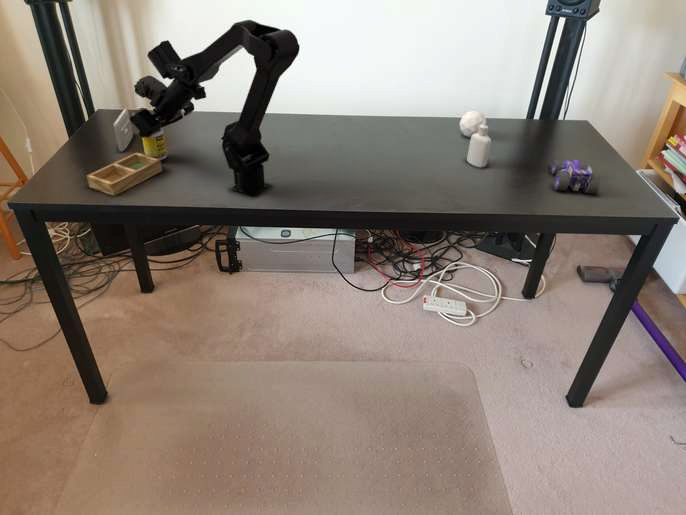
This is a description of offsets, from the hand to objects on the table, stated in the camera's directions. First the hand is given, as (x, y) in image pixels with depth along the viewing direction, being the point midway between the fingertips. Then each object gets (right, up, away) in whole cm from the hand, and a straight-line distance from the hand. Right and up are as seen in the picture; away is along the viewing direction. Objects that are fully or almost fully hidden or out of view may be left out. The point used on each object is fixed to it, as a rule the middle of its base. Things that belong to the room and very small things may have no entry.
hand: (147, 131), depth 134 cm
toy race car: (+108, -12, +3) cm, 109 cm away
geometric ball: (+88, +5, +25) cm, 92 cm away
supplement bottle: (+1, -6, +4) cm, 7 cm away
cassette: (-10, -1, +11) cm, 15 cm away
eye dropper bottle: (+86, -7, +10) cm, 87 cm away
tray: (-3, -13, -5) cm, 14 cm away
